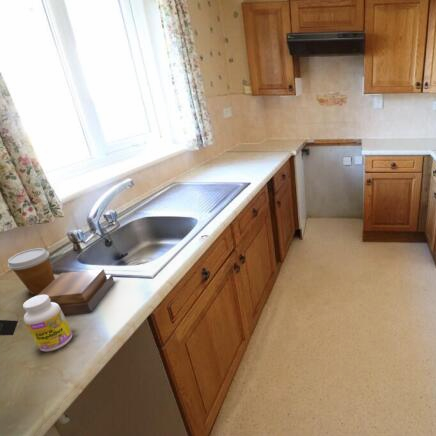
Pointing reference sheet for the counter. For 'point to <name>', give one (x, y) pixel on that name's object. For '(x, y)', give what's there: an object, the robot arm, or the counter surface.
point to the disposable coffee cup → (33, 269)
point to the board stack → (78, 290)
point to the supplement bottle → (46, 323)
